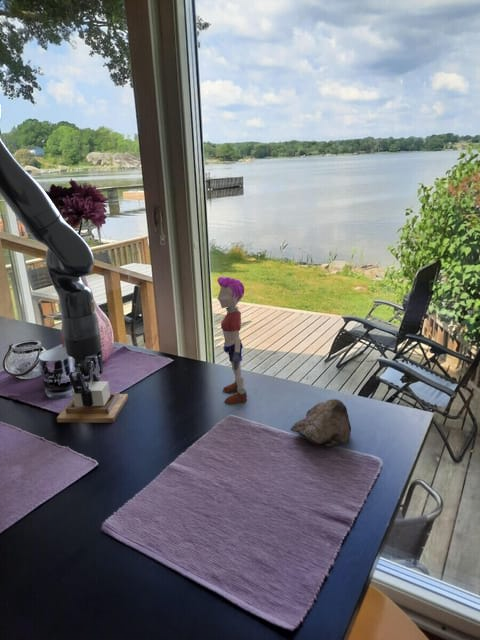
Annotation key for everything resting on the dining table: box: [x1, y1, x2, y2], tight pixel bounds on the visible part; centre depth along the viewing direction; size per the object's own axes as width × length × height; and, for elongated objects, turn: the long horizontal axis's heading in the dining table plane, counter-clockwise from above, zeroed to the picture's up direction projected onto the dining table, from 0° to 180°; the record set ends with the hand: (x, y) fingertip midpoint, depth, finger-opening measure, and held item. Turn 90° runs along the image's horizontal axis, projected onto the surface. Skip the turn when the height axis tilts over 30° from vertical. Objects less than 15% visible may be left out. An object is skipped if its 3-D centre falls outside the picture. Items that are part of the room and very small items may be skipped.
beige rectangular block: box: [71, 380, 111, 406], centre depth 103 cm, size 7×4×4 cm, turn 87°
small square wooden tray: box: [56, 392, 129, 424], centre depth 104 cm, size 13×11×2 cm
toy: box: [217, 276, 248, 405], centre depth 104 cm, size 16×6×30 cm, turn 6°
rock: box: [290, 398, 352, 448], centre depth 90 cm, size 13×12×10 cm
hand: (92, 399), depth 103 cm, fingers closed on beige rectangular block, 4 cm apart
